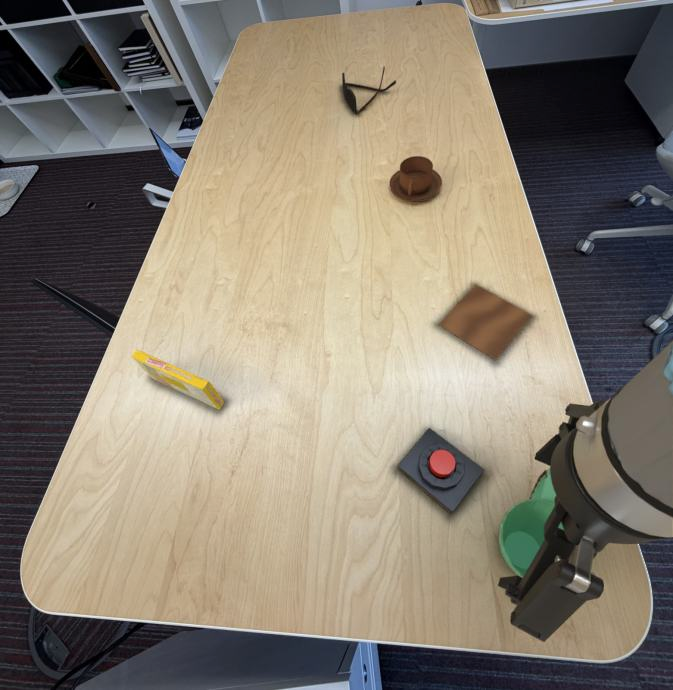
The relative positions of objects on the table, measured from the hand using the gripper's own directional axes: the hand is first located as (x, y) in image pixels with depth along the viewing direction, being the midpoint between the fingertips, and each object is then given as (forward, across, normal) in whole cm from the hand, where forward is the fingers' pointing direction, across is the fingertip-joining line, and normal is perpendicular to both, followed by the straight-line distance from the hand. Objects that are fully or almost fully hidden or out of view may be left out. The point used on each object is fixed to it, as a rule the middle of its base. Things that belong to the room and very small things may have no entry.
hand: (531, 521), depth 42 cm
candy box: (+19, 0, -56) cm, 59 cm away
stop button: (+15, -6, -10) cm, 19 cm away
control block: (+18, -6, -10) cm, 22 cm away
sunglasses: (+19, -99, -66) cm, 121 cm away
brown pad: (+18, -35, -12) cm, 42 cm away
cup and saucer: (+19, -65, -38) cm, 78 cm away
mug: (+18, -3, +4) cm, 19 cm away
